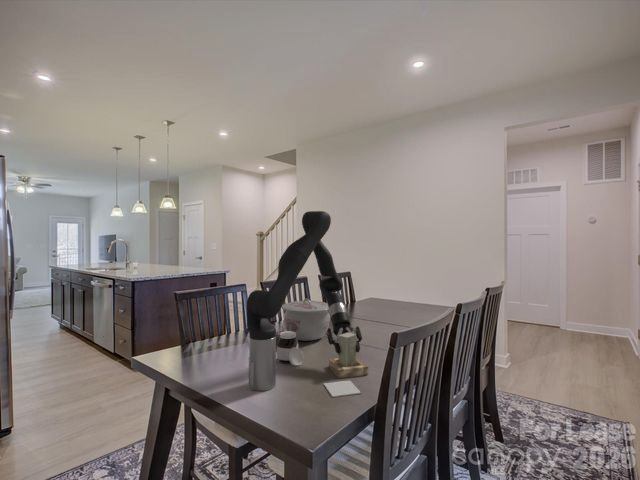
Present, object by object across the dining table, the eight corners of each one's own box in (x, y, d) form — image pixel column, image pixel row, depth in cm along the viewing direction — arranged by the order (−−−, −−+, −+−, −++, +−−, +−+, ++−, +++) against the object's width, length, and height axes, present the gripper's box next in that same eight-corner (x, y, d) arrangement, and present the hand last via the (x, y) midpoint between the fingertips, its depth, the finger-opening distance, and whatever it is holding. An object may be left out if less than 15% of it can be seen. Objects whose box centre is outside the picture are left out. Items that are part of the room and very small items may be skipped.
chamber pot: (323, 348, 157) (323, 304, 158) (271, 342, 166) (271, 301, 166) (339, 332, 184) (339, 295, 184) (293, 328, 193) (293, 293, 193)
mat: (332, 397, 108) (332, 396, 108) (323, 384, 117) (323, 383, 117) (360, 393, 110) (360, 392, 110) (350, 381, 120) (350, 380, 120)
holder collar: (338, 377, 123) (338, 369, 123) (329, 366, 134) (329, 358, 134) (368, 374, 126) (368, 366, 126) (356, 363, 138) (356, 356, 138)
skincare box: (348, 361, 134) (348, 331, 134) (356, 364, 131) (357, 334, 131) (337, 365, 130) (338, 334, 130) (346, 369, 127) (346, 337, 127)
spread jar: (284, 355, 147) (284, 329, 147) (308, 358, 143) (308, 331, 143) (272, 365, 135) (272, 337, 135) (298, 368, 132) (298, 339, 132)
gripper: (324, 312, 136) (333, 349, 125) (357, 310, 140) (368, 346, 129) (321, 321, 141) (329, 358, 130) (352, 319, 145) (363, 355, 134)
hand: (348, 352), depth 129 cm, fingers closed on skincare box, 7 cm apart
